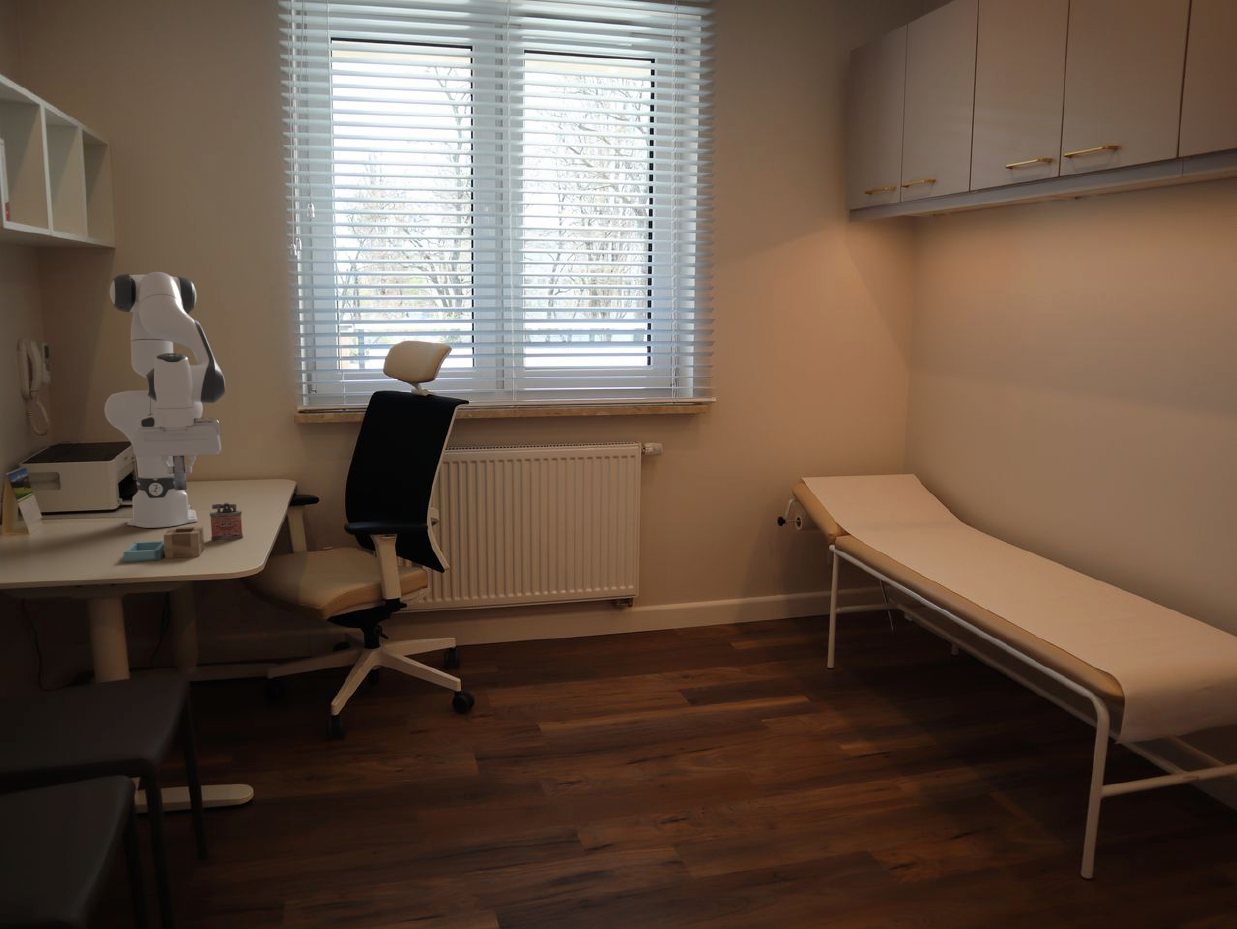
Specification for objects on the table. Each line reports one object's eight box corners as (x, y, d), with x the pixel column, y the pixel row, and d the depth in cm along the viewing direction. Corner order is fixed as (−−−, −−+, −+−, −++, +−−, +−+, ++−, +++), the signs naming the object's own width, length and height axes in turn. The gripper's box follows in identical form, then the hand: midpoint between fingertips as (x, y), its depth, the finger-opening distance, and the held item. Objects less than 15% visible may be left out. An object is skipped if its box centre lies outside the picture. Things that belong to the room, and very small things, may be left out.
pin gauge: (175, 488, 252) (172, 445, 250) (187, 488, 253) (184, 445, 251) (173, 490, 249) (170, 447, 248) (185, 490, 250) (182, 447, 248)
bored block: (171, 550, 256) (169, 528, 255) (204, 549, 258) (203, 526, 257) (165, 558, 249) (163, 534, 248) (199, 556, 251) (197, 533, 250)
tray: (134, 551, 255) (133, 542, 255) (168, 550, 257) (167, 540, 257) (124, 562, 245) (123, 552, 244) (159, 560, 246) (158, 550, 246)
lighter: (243, 536, 273) (240, 500, 271) (243, 539, 270) (240, 503, 268) (211, 538, 270) (209, 502, 268) (211, 541, 267) (208, 505, 265)
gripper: (221, 416, 254) (225, 469, 256) (135, 418, 249) (139, 472, 251) (218, 418, 248) (221, 473, 250) (129, 421, 243) (133, 476, 245)
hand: (179, 473), depth 250 cm, fingers closed on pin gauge, 3 cm apart
